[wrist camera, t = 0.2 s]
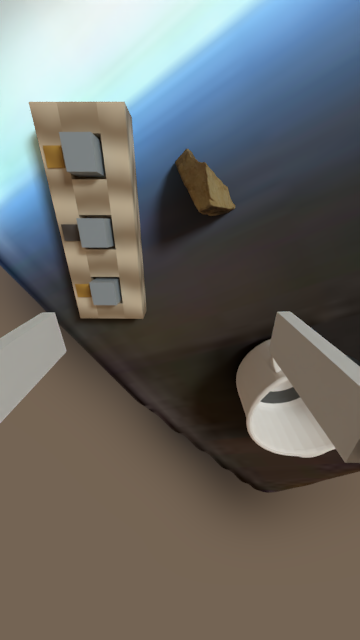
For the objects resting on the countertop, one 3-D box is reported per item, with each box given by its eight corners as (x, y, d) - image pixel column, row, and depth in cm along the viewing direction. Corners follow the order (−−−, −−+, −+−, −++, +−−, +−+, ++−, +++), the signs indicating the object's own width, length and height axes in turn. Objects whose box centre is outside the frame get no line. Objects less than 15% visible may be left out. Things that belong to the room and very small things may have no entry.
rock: (154, 152, 28) (171, 227, 31) (189, 106, 21) (207, 208, 24) (209, 156, 33) (219, 219, 36) (252, 120, 26) (261, 202, 29)
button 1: (72, 142, 27) (58, 131, 24) (101, 142, 27) (91, 132, 24) (78, 177, 29) (66, 171, 26) (105, 177, 29) (96, 171, 26)
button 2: (97, 277, 36) (89, 282, 33) (119, 277, 36) (113, 282, 33) (100, 298, 37) (93, 305, 34) (121, 298, 37) (116, 305, 34)
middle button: (86, 218, 32) (76, 218, 29) (111, 218, 32) (103, 218, 28) (91, 245, 33) (82, 247, 30) (114, 245, 33) (108, 247, 30)
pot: (333, 402, 52) (380, 456, 40) (247, 422, 56) (265, 478, 44) (324, 289, 39) (390, 319, 27) (212, 327, 43) (224, 368, 31)
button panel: (48, 117, 28) (27, 101, 25) (131, 117, 28) (123, 100, 24) (89, 310, 41) (80, 318, 38) (146, 310, 41) (142, 319, 37)
